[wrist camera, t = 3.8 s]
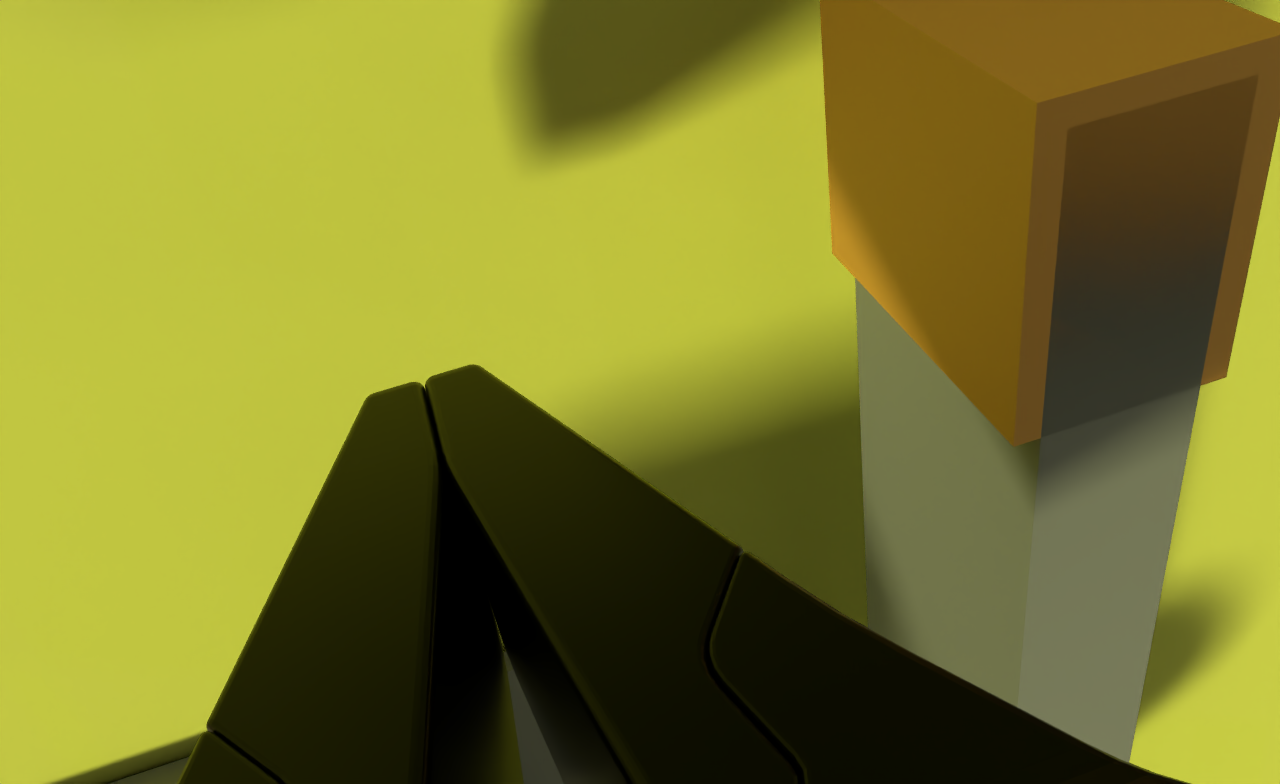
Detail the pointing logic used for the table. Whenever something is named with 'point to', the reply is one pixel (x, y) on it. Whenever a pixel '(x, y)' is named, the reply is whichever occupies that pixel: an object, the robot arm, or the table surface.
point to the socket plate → (533, 749)
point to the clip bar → (1039, 315)
